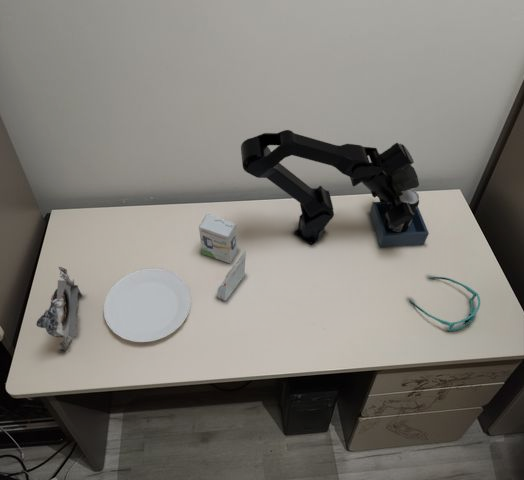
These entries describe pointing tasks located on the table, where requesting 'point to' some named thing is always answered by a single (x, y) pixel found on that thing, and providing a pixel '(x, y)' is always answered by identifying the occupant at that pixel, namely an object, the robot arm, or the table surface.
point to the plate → (147, 305)
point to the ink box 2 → (232, 278)
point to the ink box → (218, 238)
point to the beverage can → (412, 199)
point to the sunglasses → (466, 320)
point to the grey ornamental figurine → (62, 311)
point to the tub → (393, 239)
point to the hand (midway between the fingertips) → (407, 209)
